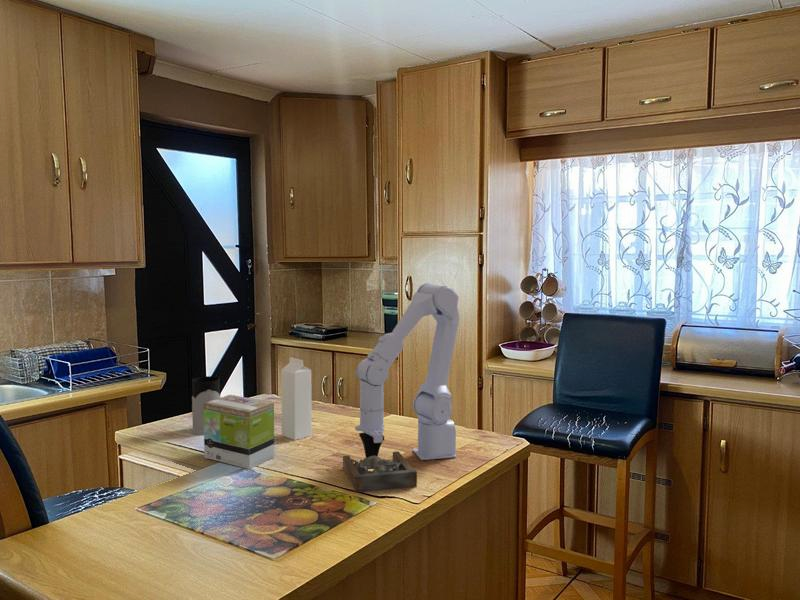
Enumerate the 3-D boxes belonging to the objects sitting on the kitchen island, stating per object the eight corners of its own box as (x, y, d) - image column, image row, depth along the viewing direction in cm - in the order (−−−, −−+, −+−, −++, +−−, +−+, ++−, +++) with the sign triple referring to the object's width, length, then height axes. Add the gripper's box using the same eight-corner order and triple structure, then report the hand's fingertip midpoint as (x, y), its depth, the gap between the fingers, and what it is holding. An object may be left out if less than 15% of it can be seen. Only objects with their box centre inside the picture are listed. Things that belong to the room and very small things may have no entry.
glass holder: (194, 436, 178) (192, 383, 176) (185, 423, 190) (184, 373, 189) (225, 432, 182) (224, 380, 180) (215, 419, 194) (214, 371, 193)
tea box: (202, 459, 160) (201, 401, 158) (230, 448, 169) (229, 393, 167) (249, 470, 153) (248, 410, 151) (276, 457, 162) (275, 400, 160)
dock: (398, 463, 159) (398, 449, 158) (416, 486, 144) (416, 471, 143) (342, 468, 155) (342, 454, 154) (355, 492, 140) (355, 477, 140)
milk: (294, 440, 175) (294, 361, 173) (281, 435, 179) (280, 358, 177) (312, 435, 180) (311, 358, 177) (298, 431, 184) (297, 355, 181)
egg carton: (348, 475, 150) (348, 458, 150) (369, 466, 156) (369, 450, 156) (382, 486, 144) (382, 469, 143) (403, 477, 149) (403, 460, 149)
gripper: (349, 401, 161) (349, 454, 162) (361, 417, 147) (361, 474, 148) (377, 400, 163) (376, 451, 164) (391, 415, 149) (391, 471, 150)
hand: (371, 462), depth 156 cm, fingers closed
